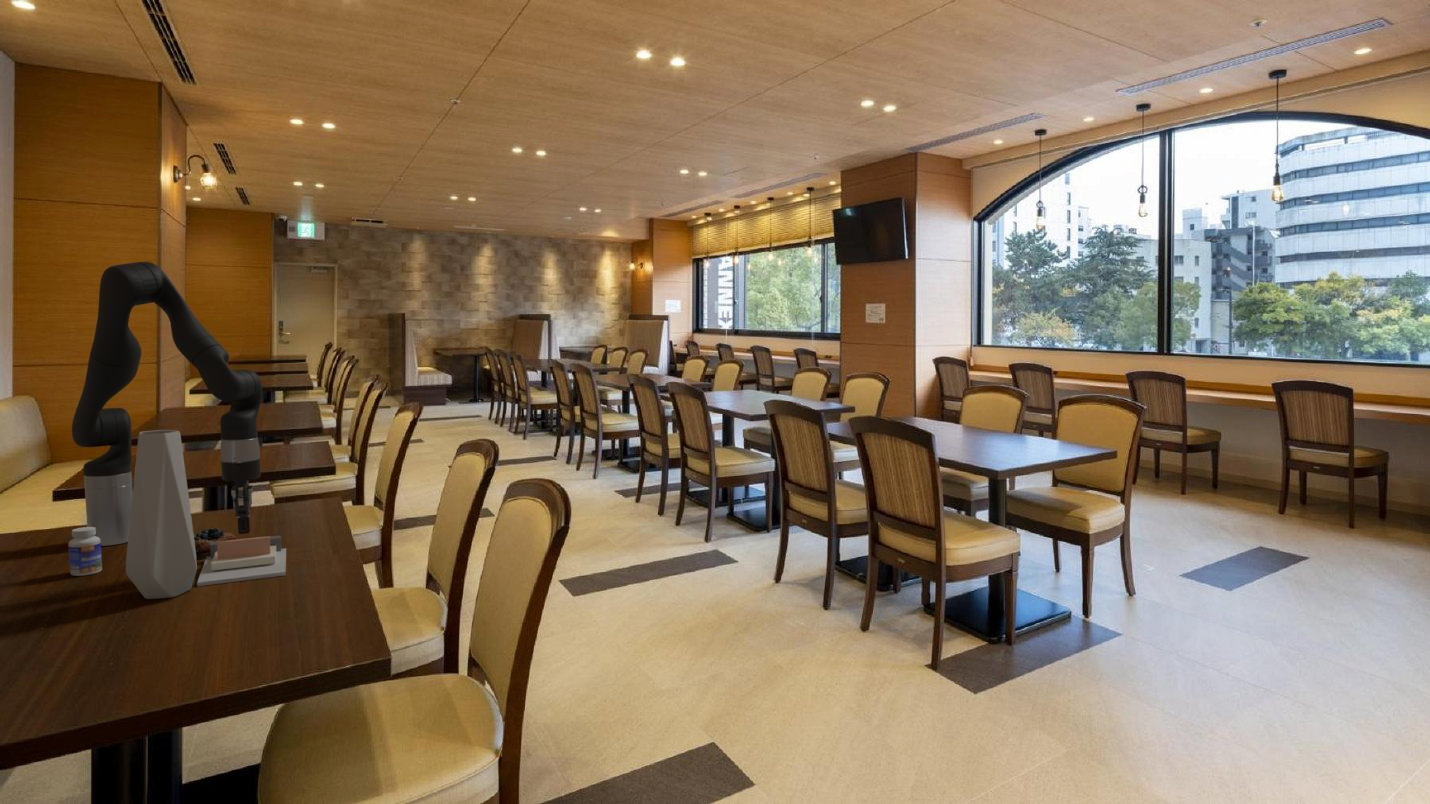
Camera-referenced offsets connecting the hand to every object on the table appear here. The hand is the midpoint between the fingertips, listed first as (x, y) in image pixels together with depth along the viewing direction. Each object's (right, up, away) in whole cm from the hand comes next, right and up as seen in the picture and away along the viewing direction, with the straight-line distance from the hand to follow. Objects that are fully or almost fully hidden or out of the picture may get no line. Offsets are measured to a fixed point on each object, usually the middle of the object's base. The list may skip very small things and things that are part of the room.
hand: (244, 533), depth 174 cm
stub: (+2, -6, -4) cm, 8 cm away
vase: (-3, -9, -19) cm, 21 cm away
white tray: (+2, -7, -3) cm, 8 cm away
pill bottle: (-29, -8, -8) cm, 31 cm away
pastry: (-14, -6, +8) cm, 17 cm away
